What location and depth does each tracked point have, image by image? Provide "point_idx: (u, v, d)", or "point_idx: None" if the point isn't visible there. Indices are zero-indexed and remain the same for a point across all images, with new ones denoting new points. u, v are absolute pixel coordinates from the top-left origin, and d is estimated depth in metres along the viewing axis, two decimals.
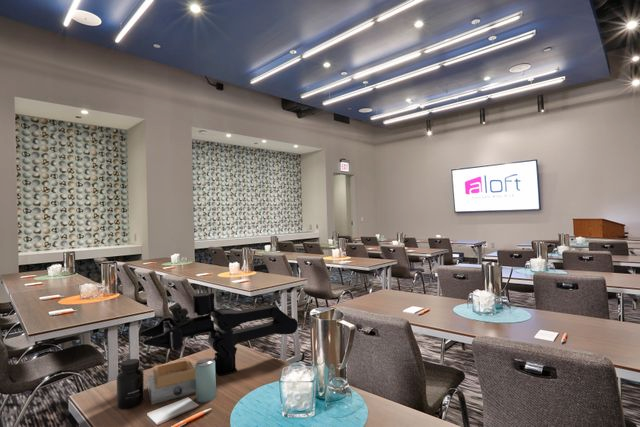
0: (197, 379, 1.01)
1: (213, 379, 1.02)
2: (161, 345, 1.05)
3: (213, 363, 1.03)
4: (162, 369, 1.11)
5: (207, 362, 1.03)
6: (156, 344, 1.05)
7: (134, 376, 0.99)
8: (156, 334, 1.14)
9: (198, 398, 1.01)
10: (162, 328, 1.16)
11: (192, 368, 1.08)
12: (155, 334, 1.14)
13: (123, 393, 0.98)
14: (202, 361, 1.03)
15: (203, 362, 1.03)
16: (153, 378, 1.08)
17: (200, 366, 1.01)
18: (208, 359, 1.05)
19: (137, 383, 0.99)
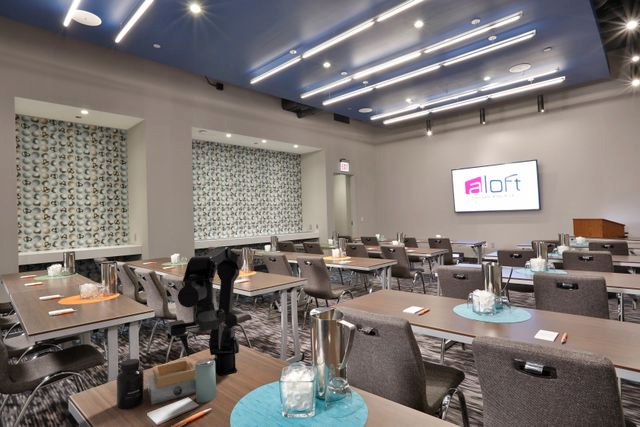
0: (197, 379, 1.01)
1: (213, 379, 1.02)
2: None
3: (213, 363, 1.03)
4: (162, 369, 1.11)
5: (207, 362, 1.03)
6: None
7: (134, 376, 0.99)
8: None
9: (198, 398, 1.01)
10: None
11: (192, 368, 1.08)
12: None
13: (123, 393, 0.98)
14: (202, 361, 1.03)
15: (203, 362, 1.03)
16: (153, 378, 1.08)
17: (200, 366, 1.01)
18: (208, 359, 1.05)
19: (137, 383, 0.99)
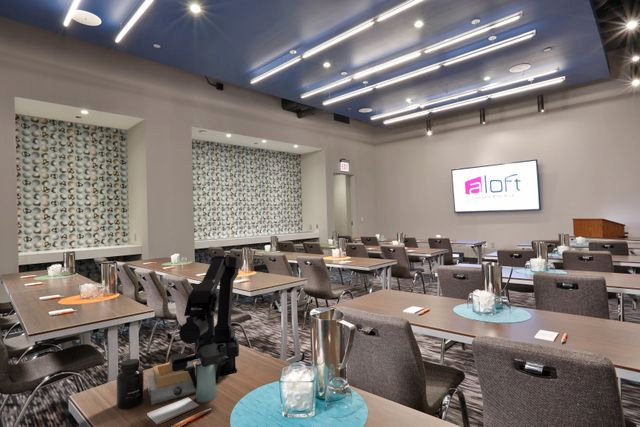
0: (197, 379, 1.01)
1: (213, 379, 1.02)
2: None
3: None
4: (162, 369, 1.11)
5: None
6: None
7: (134, 376, 0.99)
8: None
9: (198, 398, 1.01)
10: None
11: None
12: None
13: (123, 393, 0.98)
14: None
15: None
16: (153, 378, 1.08)
17: (200, 366, 1.01)
18: None
19: (137, 383, 0.99)
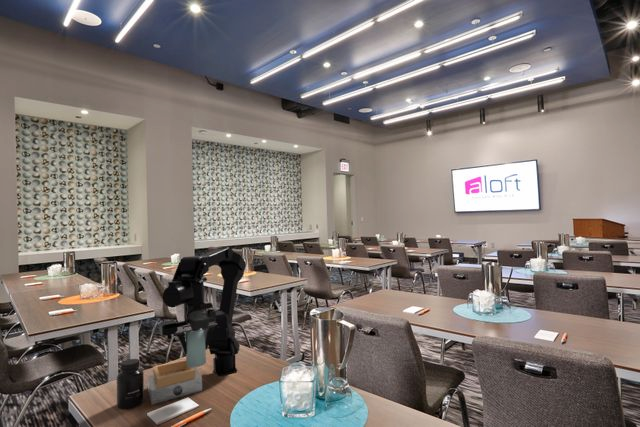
0: (187, 345, 1.03)
1: (203, 345, 1.04)
2: None
3: (203, 329, 1.05)
4: (162, 369, 1.11)
5: None
6: None
7: (134, 376, 0.99)
8: None
9: (188, 363, 1.02)
10: None
11: (192, 368, 1.08)
12: None
13: (123, 393, 0.98)
14: None
15: None
16: (153, 378, 1.08)
17: (190, 332, 1.02)
18: None
19: (137, 383, 0.99)
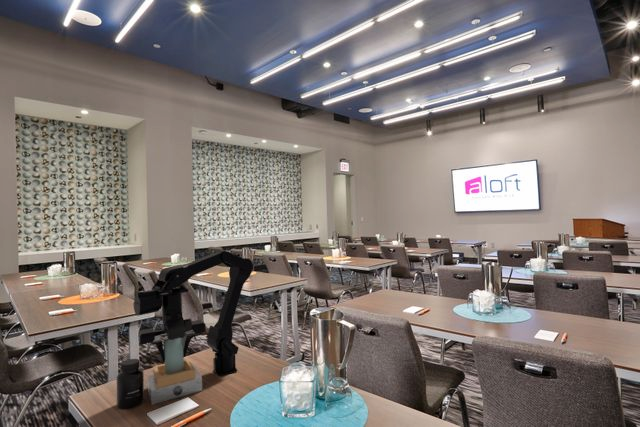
0: (165, 353, 1.07)
1: (180, 353, 1.08)
2: None
3: (180, 338, 1.09)
4: (162, 369, 1.11)
5: None
6: None
7: (134, 376, 0.99)
8: None
9: (166, 371, 1.07)
10: None
11: (192, 368, 1.08)
12: None
13: (123, 393, 0.98)
14: None
15: None
16: (153, 378, 1.08)
17: (168, 340, 1.07)
18: None
19: (137, 383, 0.99)
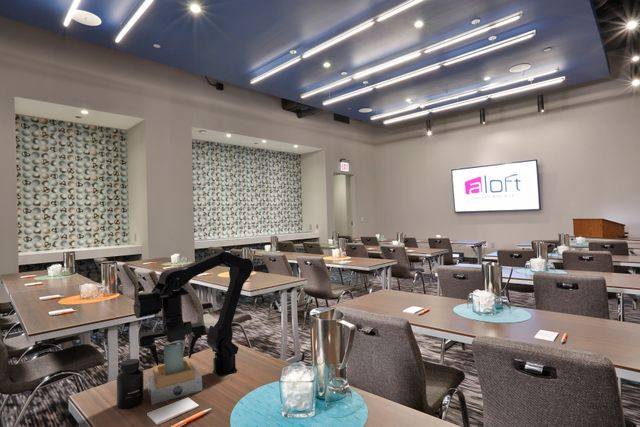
0: (165, 358, 1.07)
1: (180, 359, 1.08)
2: None
3: (181, 344, 1.09)
4: (162, 369, 1.11)
5: (175, 343, 1.08)
6: None
7: (134, 376, 0.99)
8: None
9: None
10: (154, 343, 1.06)
11: (192, 368, 1.08)
12: None
13: (123, 393, 0.98)
14: None
15: (171, 343, 1.09)
16: (153, 378, 1.08)
17: (168, 346, 1.06)
18: None
19: (137, 383, 0.99)
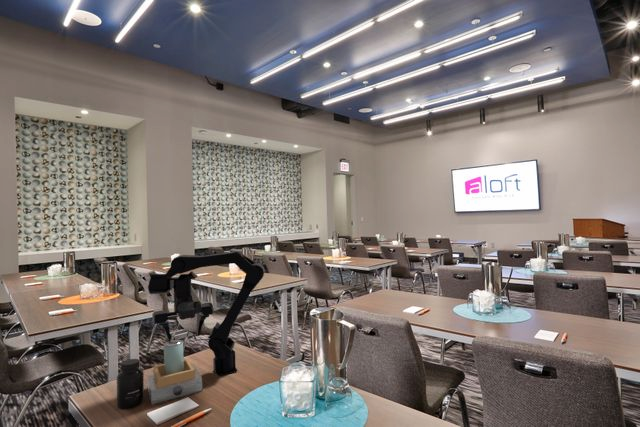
0: (165, 358, 1.07)
1: (180, 359, 1.08)
2: None
3: (181, 344, 1.09)
4: (162, 369, 1.11)
5: (175, 343, 1.08)
6: None
7: (134, 376, 0.99)
8: None
9: None
10: None
11: (192, 368, 1.08)
12: None
13: (123, 393, 0.98)
14: (170, 342, 1.09)
15: (171, 343, 1.09)
16: (153, 378, 1.08)
17: (168, 346, 1.06)
18: (176, 340, 1.11)
19: (137, 383, 0.99)
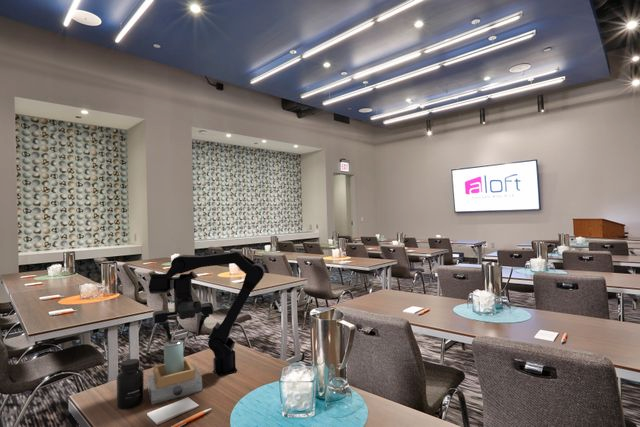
0: (165, 358, 1.07)
1: (180, 359, 1.08)
2: None
3: (181, 344, 1.09)
4: (162, 369, 1.11)
5: (175, 343, 1.08)
6: None
7: (134, 376, 0.99)
8: None
9: None
10: None
11: (192, 368, 1.08)
12: None
13: (123, 393, 0.98)
14: (170, 342, 1.09)
15: (171, 343, 1.09)
16: (153, 378, 1.08)
17: (168, 346, 1.06)
18: (176, 340, 1.11)
19: (137, 383, 0.99)
